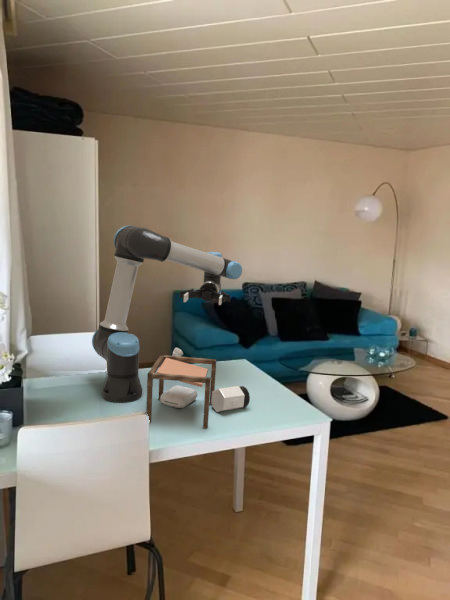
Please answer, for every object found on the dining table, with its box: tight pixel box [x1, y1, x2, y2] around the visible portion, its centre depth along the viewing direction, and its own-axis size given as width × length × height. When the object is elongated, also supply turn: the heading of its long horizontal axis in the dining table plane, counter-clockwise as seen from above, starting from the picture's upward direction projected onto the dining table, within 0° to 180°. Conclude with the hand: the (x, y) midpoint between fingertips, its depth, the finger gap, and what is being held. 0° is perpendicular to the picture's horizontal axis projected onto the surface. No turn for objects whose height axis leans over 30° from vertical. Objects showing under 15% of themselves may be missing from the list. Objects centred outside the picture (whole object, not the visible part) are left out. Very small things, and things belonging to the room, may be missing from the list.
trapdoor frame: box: [145, 354, 217, 429], centre depth 172 cm, size 21×21×18 cm
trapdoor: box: [156, 358, 209, 388], centre depth 170 cm, size 16×16×1 cm
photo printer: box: [159, 385, 198, 409], centre depth 181 cm, size 10×4×12 cm
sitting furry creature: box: [171, 347, 184, 357], centre depth 211 cm, size 10×9×12 cm
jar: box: [211, 385, 251, 413], centre depth 178 cm, size 9×8×12 cm
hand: (202, 300), depth 185 cm, fingers open, 13 cm apart
